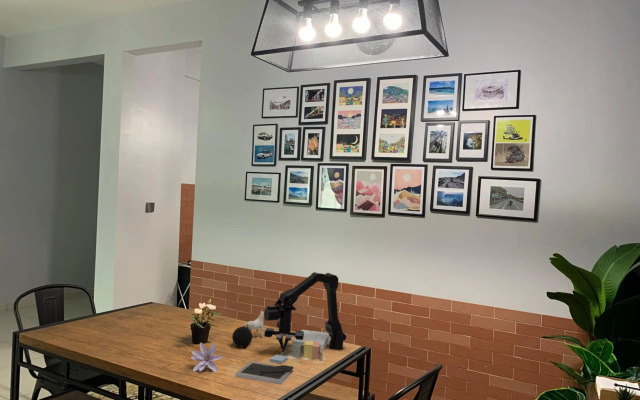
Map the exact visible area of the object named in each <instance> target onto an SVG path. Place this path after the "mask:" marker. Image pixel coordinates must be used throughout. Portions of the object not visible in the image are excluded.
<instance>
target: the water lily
mask: <svg viewBox="0 0 640 400" xmlns="http://www.w3.org/2000/svg"><path fill="white" fill-rule="evenodd" d="M199 349H200V351H199V350H195V349H194V350H191V353H192V356H191V357H190V359H192V360H193V361H196V362H197V363H196V364H195V366H194V367H193V369H192V372H197V371H199V372H202V371H203V370H204V369H205V368H206V367H207V366H208V368H209V369H211V371H212V372H214V373H218V367H217V366H216V364H215V363H214V362H213V361H218V360H222V358H223V356H222V355H214V353H215V351H216V349H217V346H216V343H213V344H212V345H211V346H210V347H209V348H208V349H207V347H206V345H205V344H204V343H202V342H200V343H199Z"/></svg>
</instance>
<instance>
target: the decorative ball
mask: <svg viewBox="0 0 640 400" xmlns="http://www.w3.org/2000/svg"><path fill="white" fill-rule="evenodd" d="M231 339H232V343H233V344H234V345H235V346H237V347H238V348H245V347H248V346H249V345H250V344H251V343H252V341H253V332H252V330H251V331H250V329H248V328H247V327H243V326H239V327H237V328H236V329H234V331H233V333H232V338H231Z"/></svg>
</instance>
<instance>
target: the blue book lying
mask: <svg viewBox="0 0 640 400" xmlns="http://www.w3.org/2000/svg"><path fill="white" fill-rule="evenodd" d="M287 358H288V357H286V356H281V354H275V355H273V356H272V357H270V358H269V363H274V364H278V365H283V363H285V362H287V361H288V359H287Z"/></svg>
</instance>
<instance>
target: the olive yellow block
mask: <svg viewBox="0 0 640 400" xmlns="http://www.w3.org/2000/svg"><path fill="white" fill-rule="evenodd" d="M312 350H313V341H305V344H304V358H310V359H312Z"/></svg>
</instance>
